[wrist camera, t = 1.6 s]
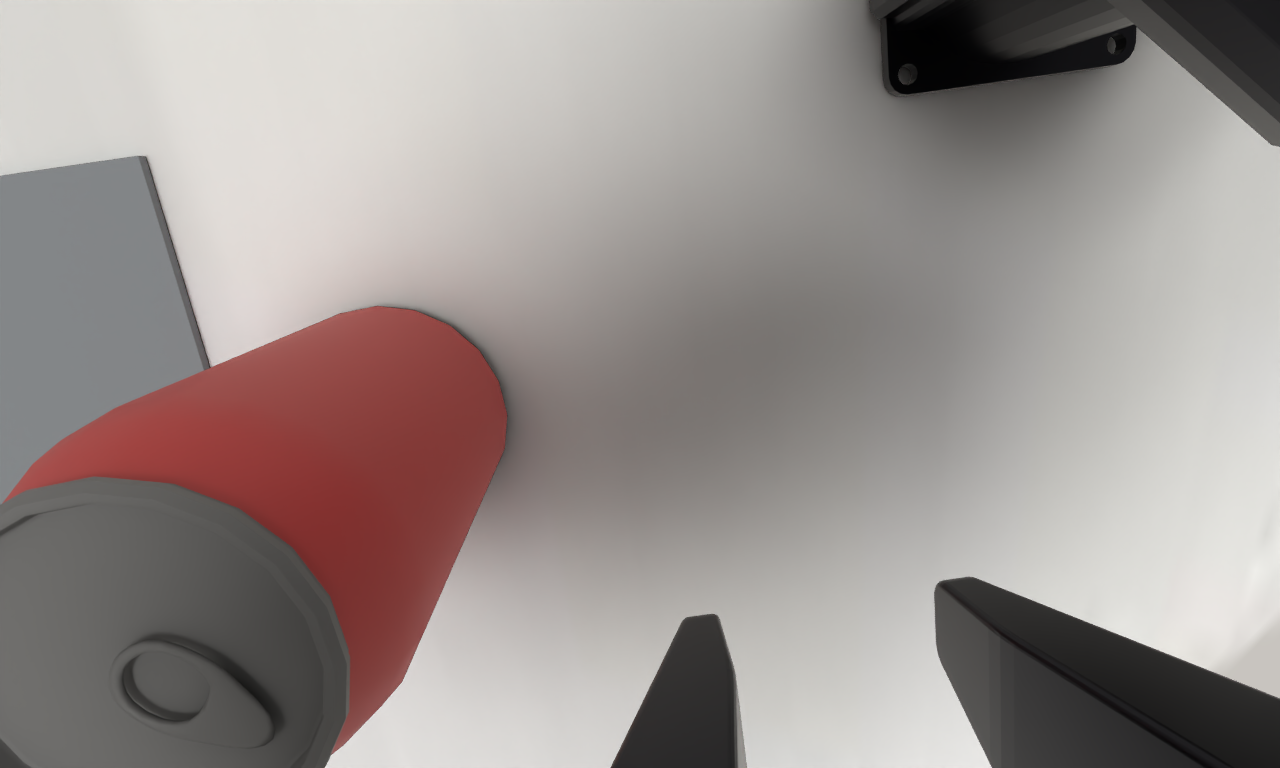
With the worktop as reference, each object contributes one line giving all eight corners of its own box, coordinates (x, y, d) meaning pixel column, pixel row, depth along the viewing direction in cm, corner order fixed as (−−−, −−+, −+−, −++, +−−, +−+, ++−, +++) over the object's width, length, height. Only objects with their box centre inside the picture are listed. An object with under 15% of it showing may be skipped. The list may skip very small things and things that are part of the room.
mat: (145, 156, 19) (137, 156, 19) (301, 669, 23) (297, 675, 23) (-299, 221, 19) (-314, 221, 19) (-65, 721, 23) (-73, 728, 23)
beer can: (440, 553, 22) (248, 944, 11) (246, 444, 21) (-209, 747, 9) (552, 382, 21) (474, 613, 9) (352, 257, 20) (-22, 340, 8)
